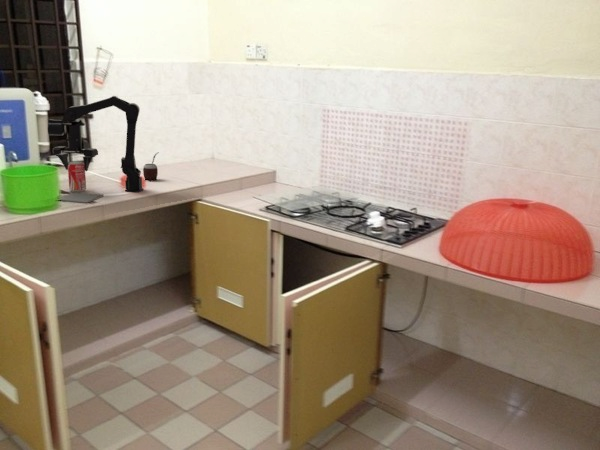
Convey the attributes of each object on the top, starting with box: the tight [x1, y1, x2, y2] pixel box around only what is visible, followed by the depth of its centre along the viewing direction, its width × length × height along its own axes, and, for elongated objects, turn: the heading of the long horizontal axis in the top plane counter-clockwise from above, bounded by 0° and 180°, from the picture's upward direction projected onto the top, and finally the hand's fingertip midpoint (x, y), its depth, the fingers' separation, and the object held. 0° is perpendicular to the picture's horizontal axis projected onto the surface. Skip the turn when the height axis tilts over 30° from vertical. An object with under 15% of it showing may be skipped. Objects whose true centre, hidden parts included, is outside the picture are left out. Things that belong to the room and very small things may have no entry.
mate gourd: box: [142, 152, 160, 182], centre depth 275 cm, size 8×8×15 cm
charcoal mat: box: [60, 192, 104, 204], centre depth 236 cm, size 14×14×1 cm
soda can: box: [67, 160, 87, 193], centre depth 247 cm, size 7×7×13 cm
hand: (76, 170), depth 246 cm, fingers open, 9 cm apart
